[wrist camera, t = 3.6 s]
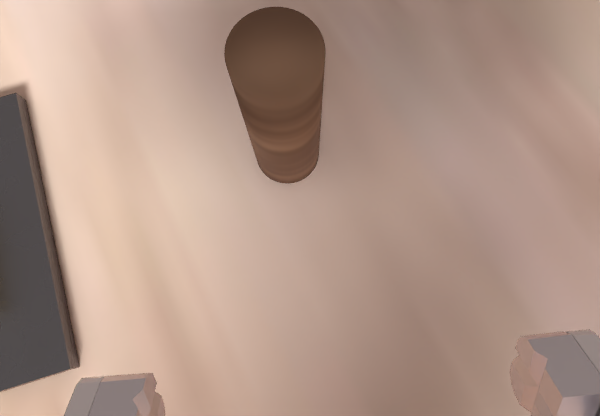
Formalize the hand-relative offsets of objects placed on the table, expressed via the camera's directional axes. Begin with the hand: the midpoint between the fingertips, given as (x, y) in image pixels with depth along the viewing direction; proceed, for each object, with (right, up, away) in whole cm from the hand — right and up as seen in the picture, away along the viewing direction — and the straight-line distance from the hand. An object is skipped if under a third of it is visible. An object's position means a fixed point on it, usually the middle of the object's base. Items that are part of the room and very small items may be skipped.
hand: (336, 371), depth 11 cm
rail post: (-2, +7, +17) cm, 19 cm away
